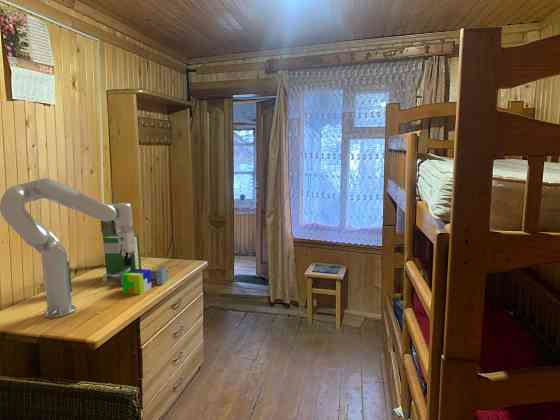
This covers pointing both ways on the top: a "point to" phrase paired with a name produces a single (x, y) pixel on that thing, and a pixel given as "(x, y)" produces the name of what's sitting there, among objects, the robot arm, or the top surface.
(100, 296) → the top surface
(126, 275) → the puzzle toy
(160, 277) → the vise body
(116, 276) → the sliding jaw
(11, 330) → the top surface
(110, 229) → the stone tower
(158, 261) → the top surface
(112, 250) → the hardback book
